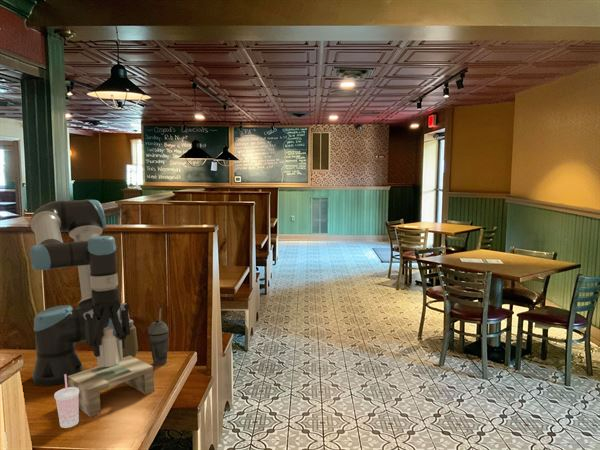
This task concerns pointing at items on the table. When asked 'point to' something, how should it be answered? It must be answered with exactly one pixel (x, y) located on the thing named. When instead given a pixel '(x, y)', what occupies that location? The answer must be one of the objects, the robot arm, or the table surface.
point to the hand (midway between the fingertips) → (110, 362)
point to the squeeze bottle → (130, 341)
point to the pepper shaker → (110, 348)
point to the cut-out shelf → (110, 381)
